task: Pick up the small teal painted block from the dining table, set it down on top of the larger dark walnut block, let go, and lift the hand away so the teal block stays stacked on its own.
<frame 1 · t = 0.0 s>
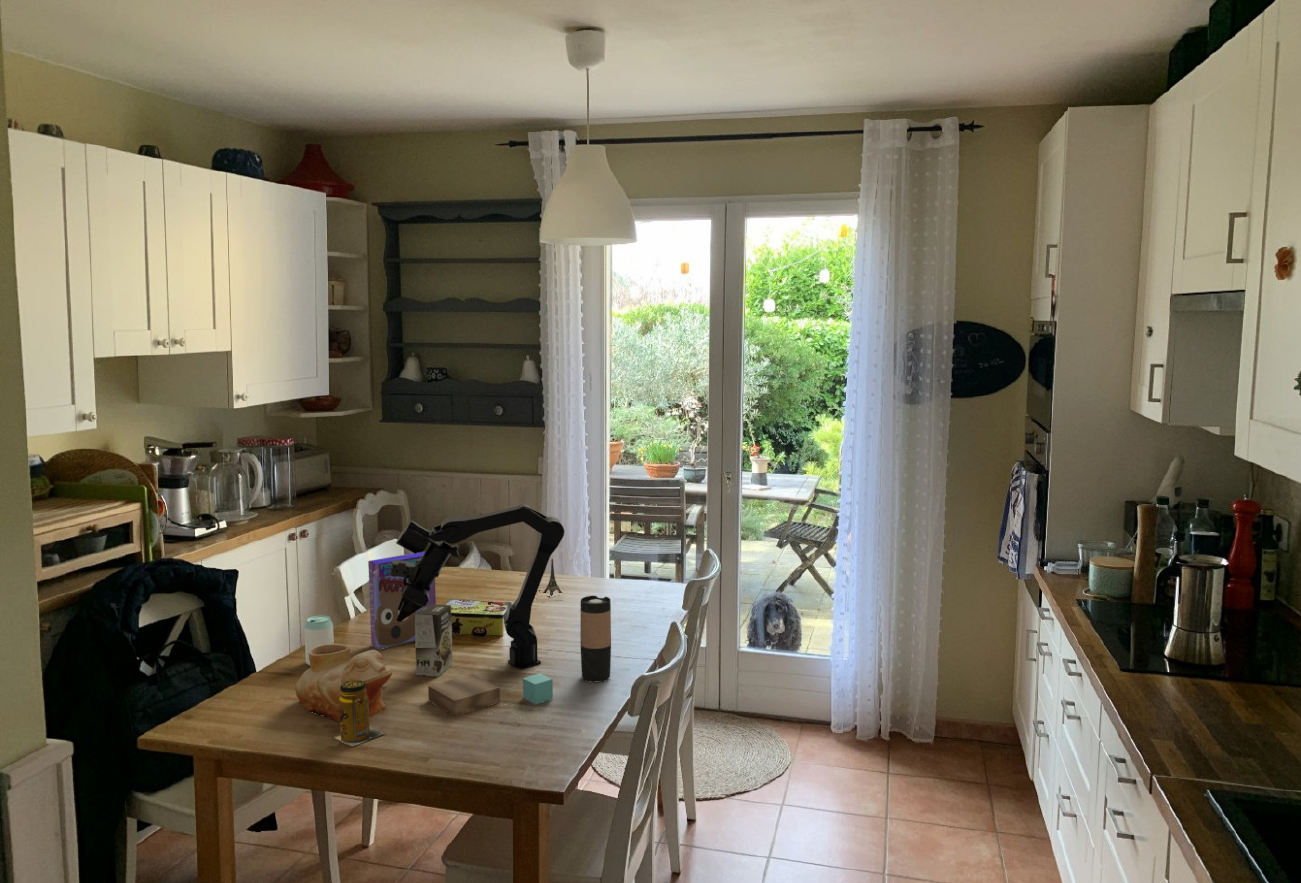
hand: (398, 615, 247), 15 cm above the table, tool tilted 35°, fingers open, 9 cm apart
teal block: (537, 699, 232), on the table
coffee box: (434, 670, 251), on the table
travel mug: (596, 677, 246), on the table
cereal box: (404, 641, 274), on the table
can: (320, 664, 256), on the table
walnut block: (464, 703, 231), on the table
ceramic vessel: (345, 710, 226), on the table
condiment: (359, 737, 212), on the table
eiffel tower figurine: (551, 596, 320), on the table
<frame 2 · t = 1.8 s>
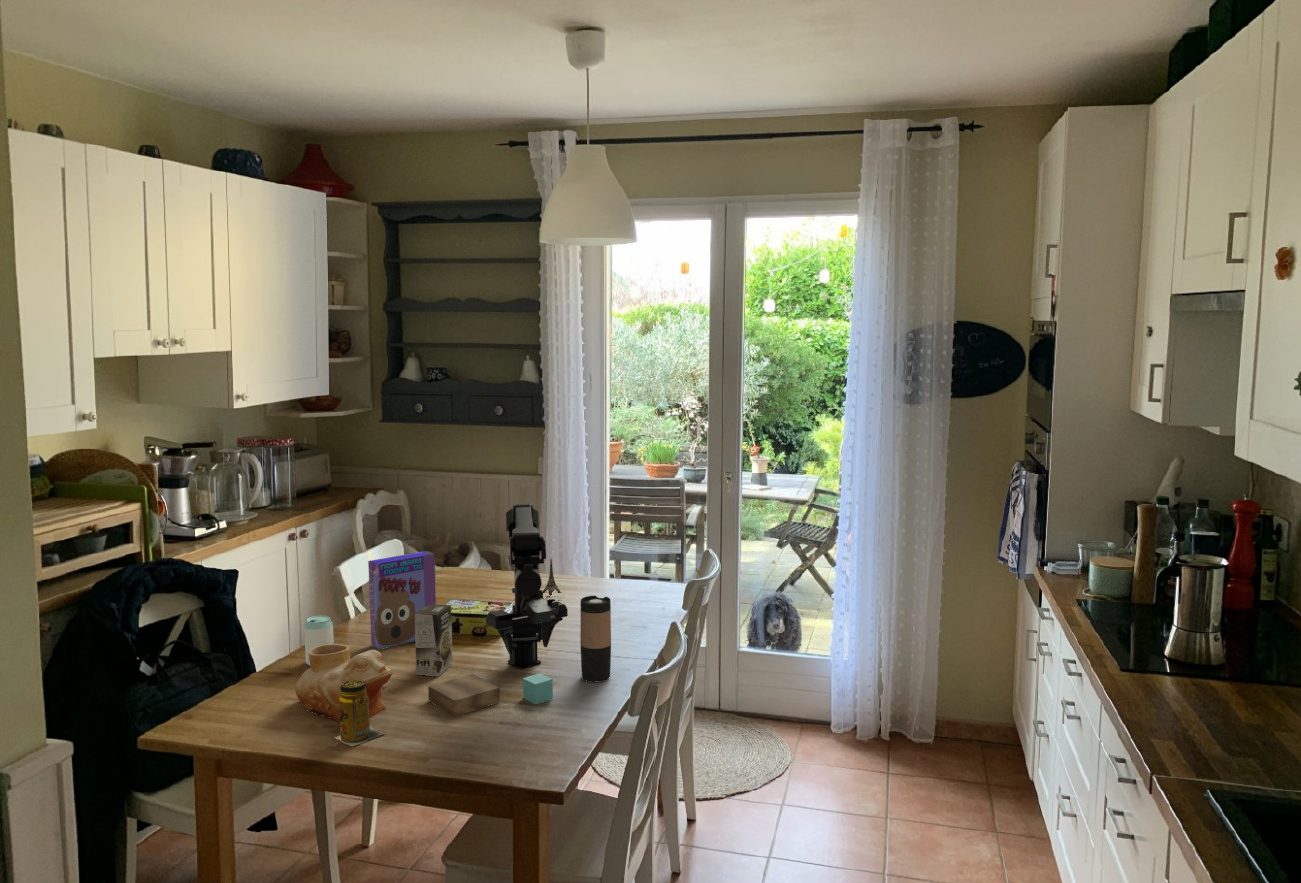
hand: (528, 650, 230), 12 cm above the table, tool pointing down, fingers open, 9 cm apart
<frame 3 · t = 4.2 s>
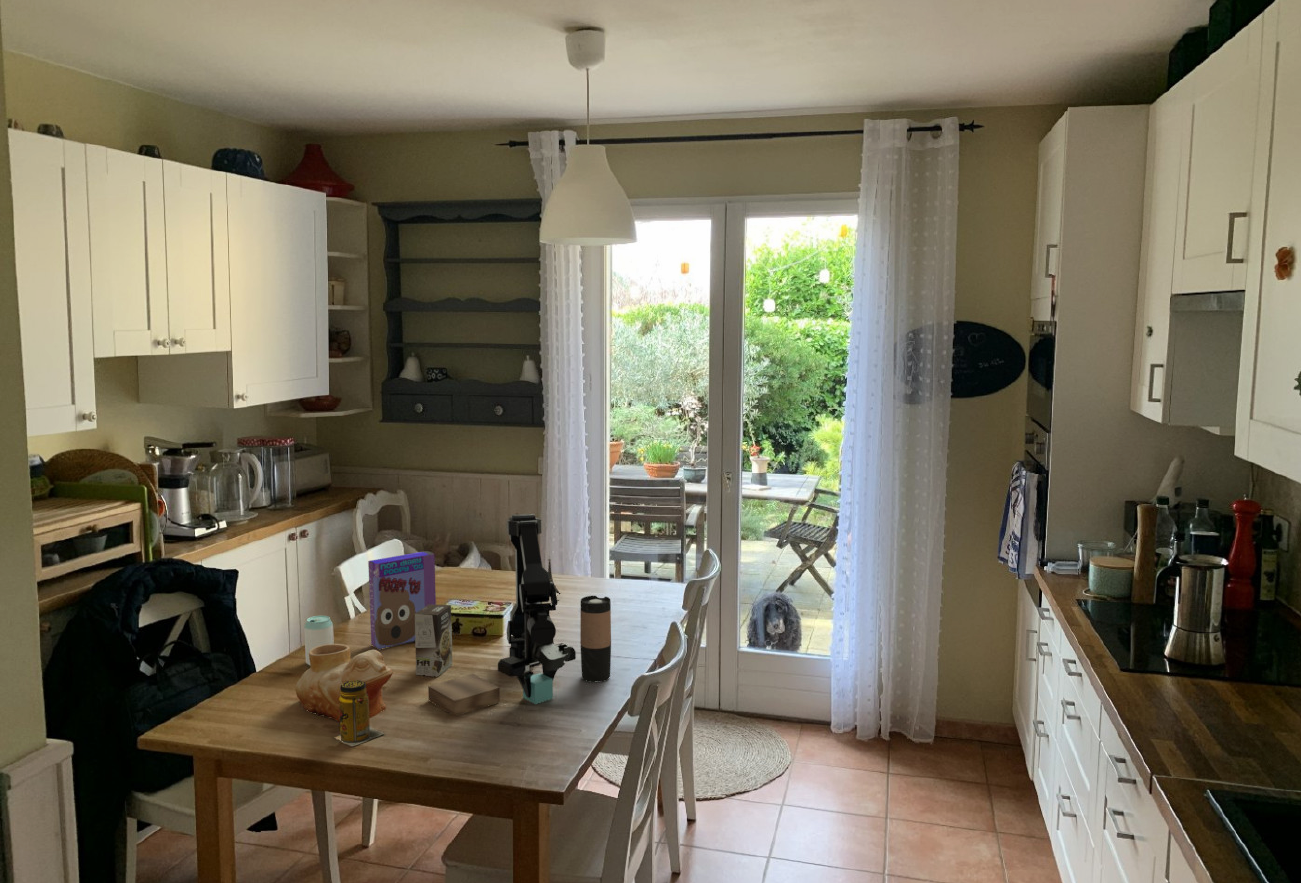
hand: (537, 694, 232), 1 cm above the table, tool pointing down, fingers closed on teal block, 5 cm apart
teal block: (538, 698, 232), on the table, touching gripper
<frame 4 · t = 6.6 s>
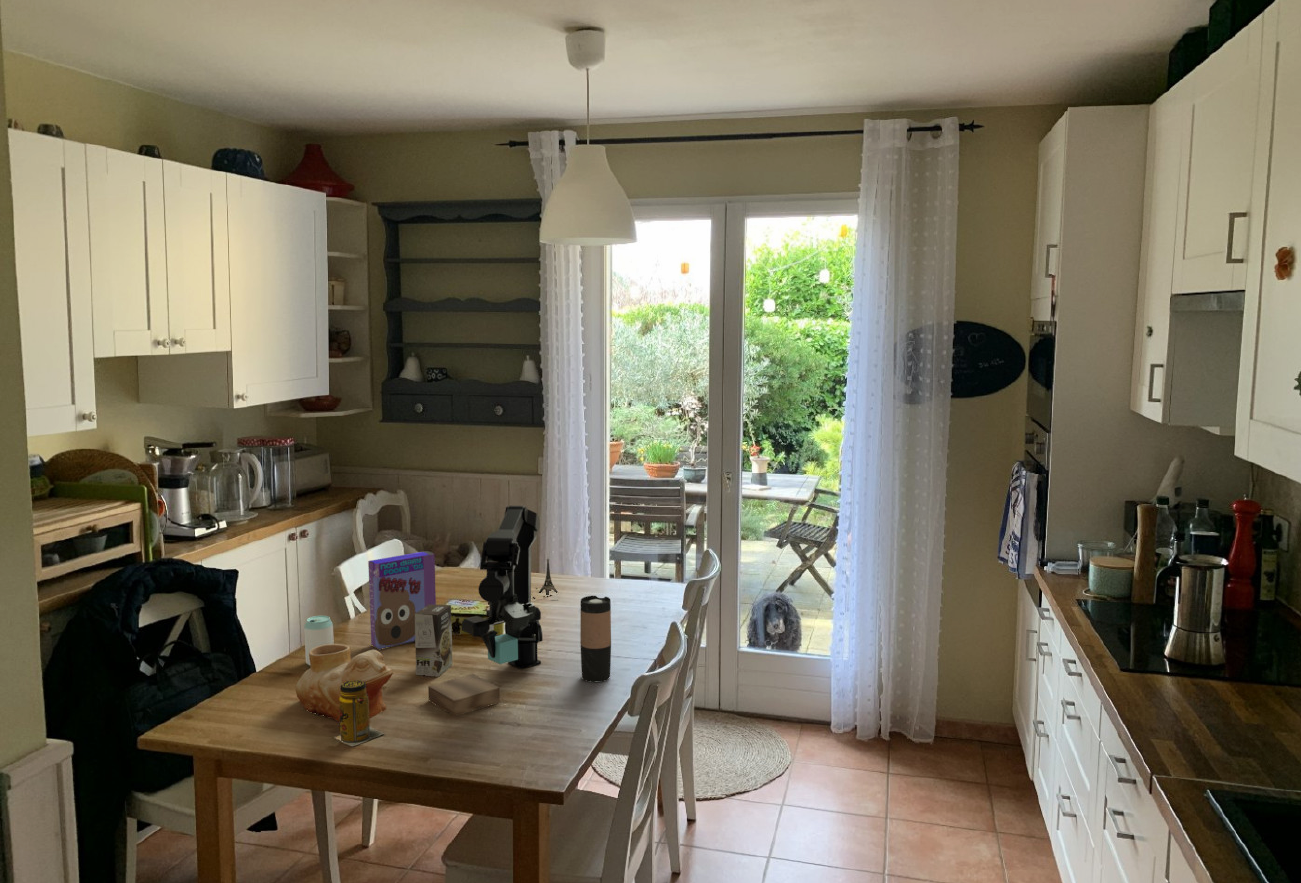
hand: (502, 654, 230), 11 cm above the table, tool pointing down, fingers closed on teal block, 5 cm apart
teal block: (503, 659, 230), point 10 cm above the table, touching gripper
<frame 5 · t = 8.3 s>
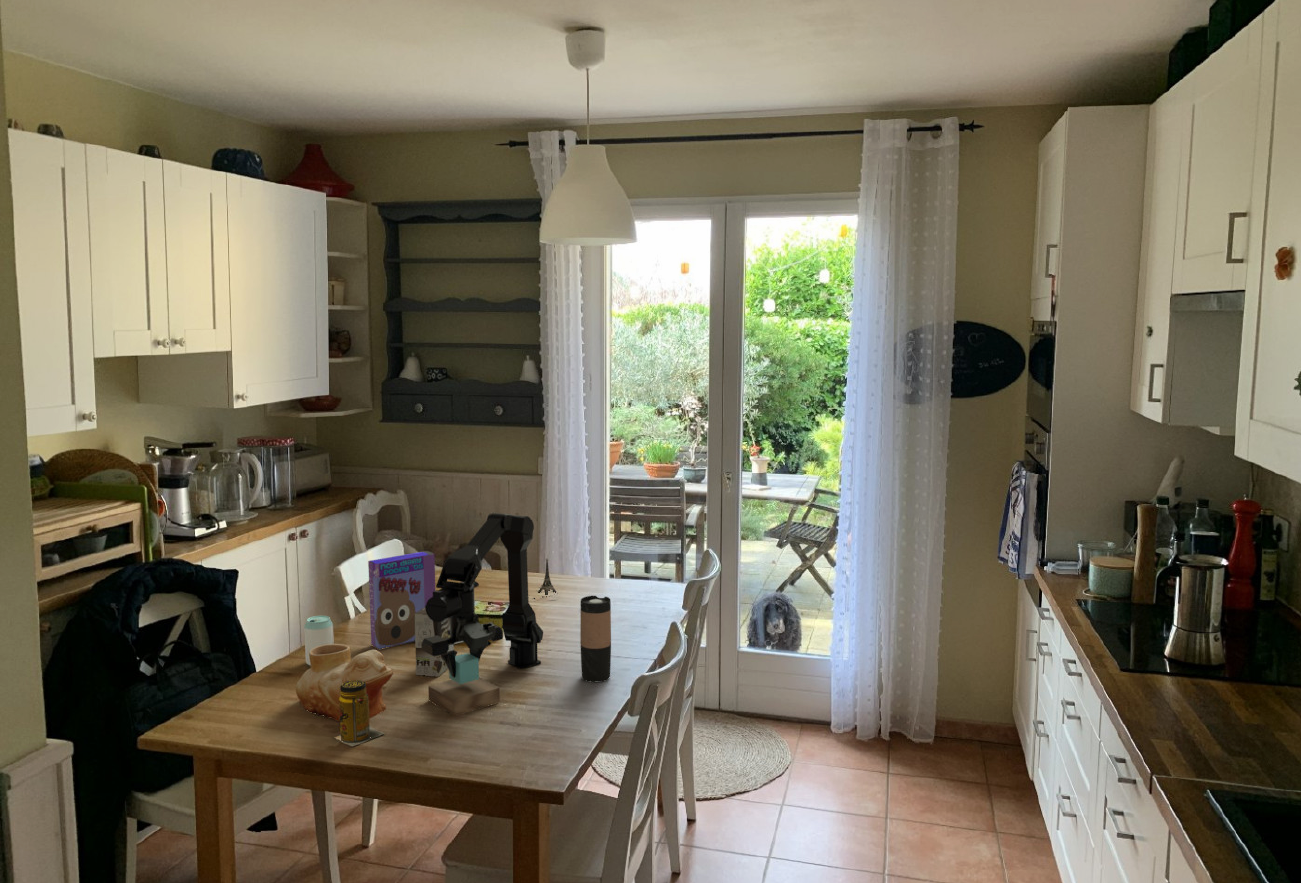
hand: (463, 674, 230), 7 cm above the table, tool pointing down, fingers closed on teal block, 5 cm apart
teal block: (464, 678, 230), point 6 cm above the table, touching gripper
when the fingers open (6 cm above the table, at t = 9.2 s): teal block drops 1 cm, resting on walnut block.
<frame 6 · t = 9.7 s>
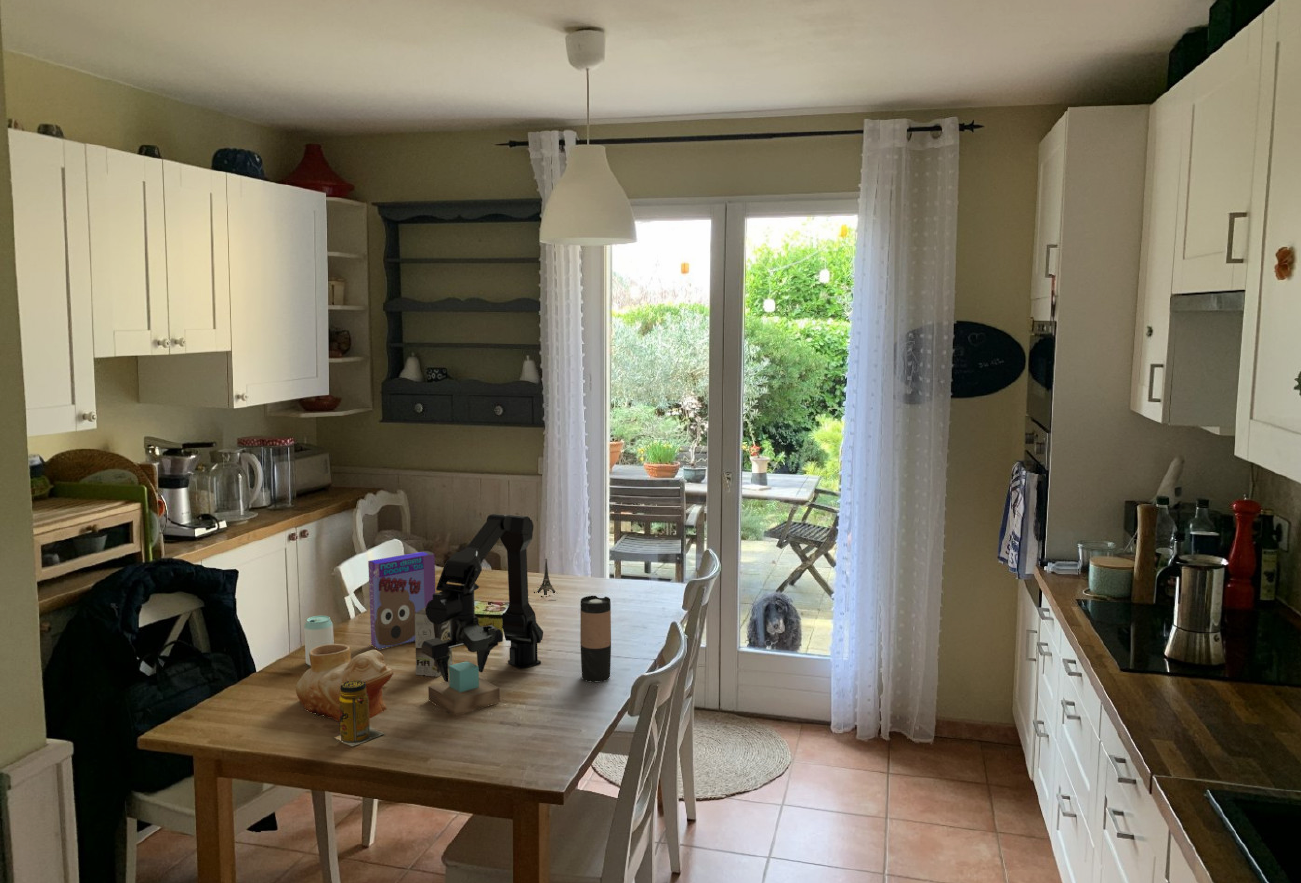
hand: (463, 676, 230), 6 cm above the table, tool pointing down, fingers open, 9 cm apart
teal block: (464, 686, 230), point 3 cm above the table, touching walnut block
walnut block: (464, 703, 231), on the table, touching teal block
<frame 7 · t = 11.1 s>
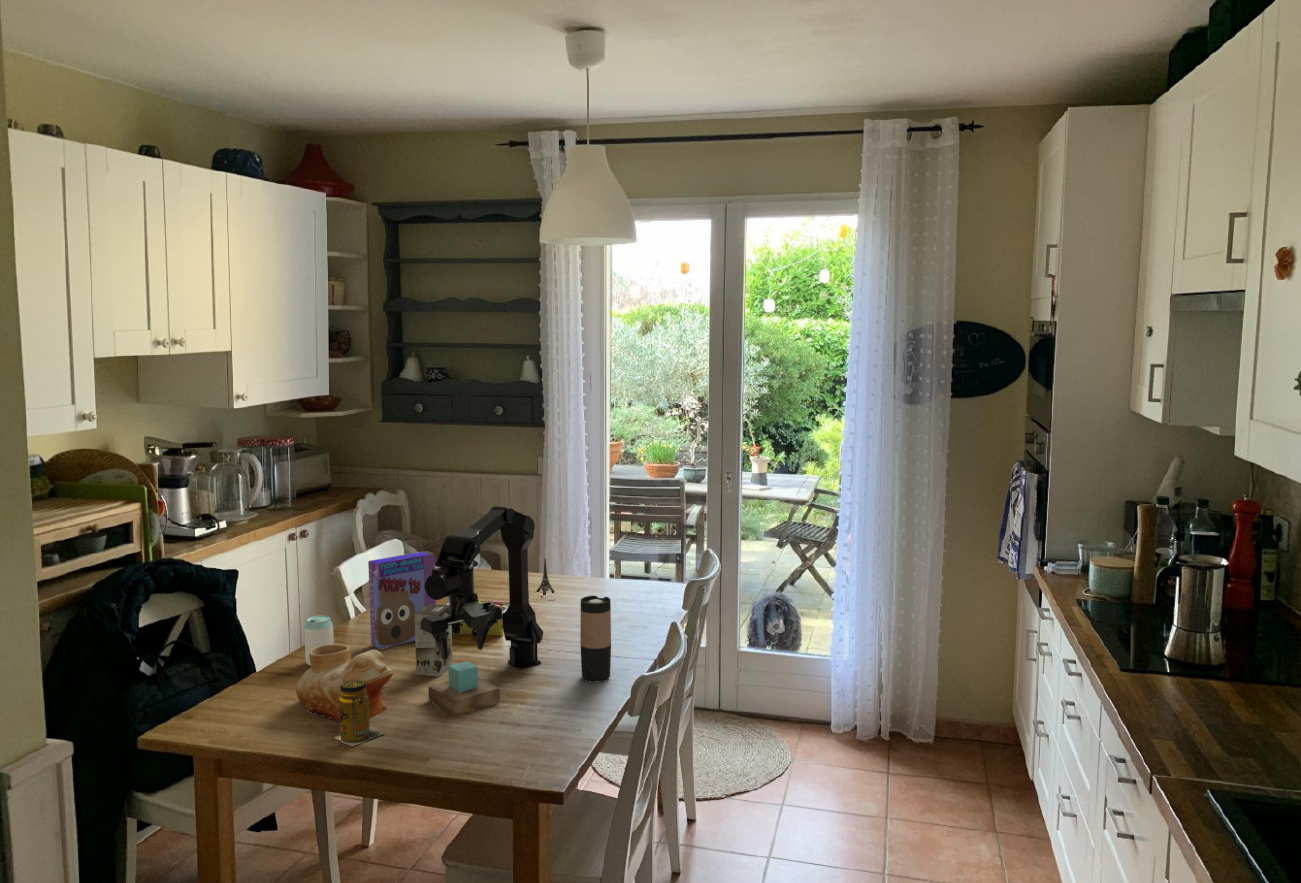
hand: (462, 653, 229), 12 cm above the table, tool pointing down, fingers open, 9 cm apart
teal block: (463, 686, 230), point 4 cm above the table
walnut block: (464, 703, 231), on the table
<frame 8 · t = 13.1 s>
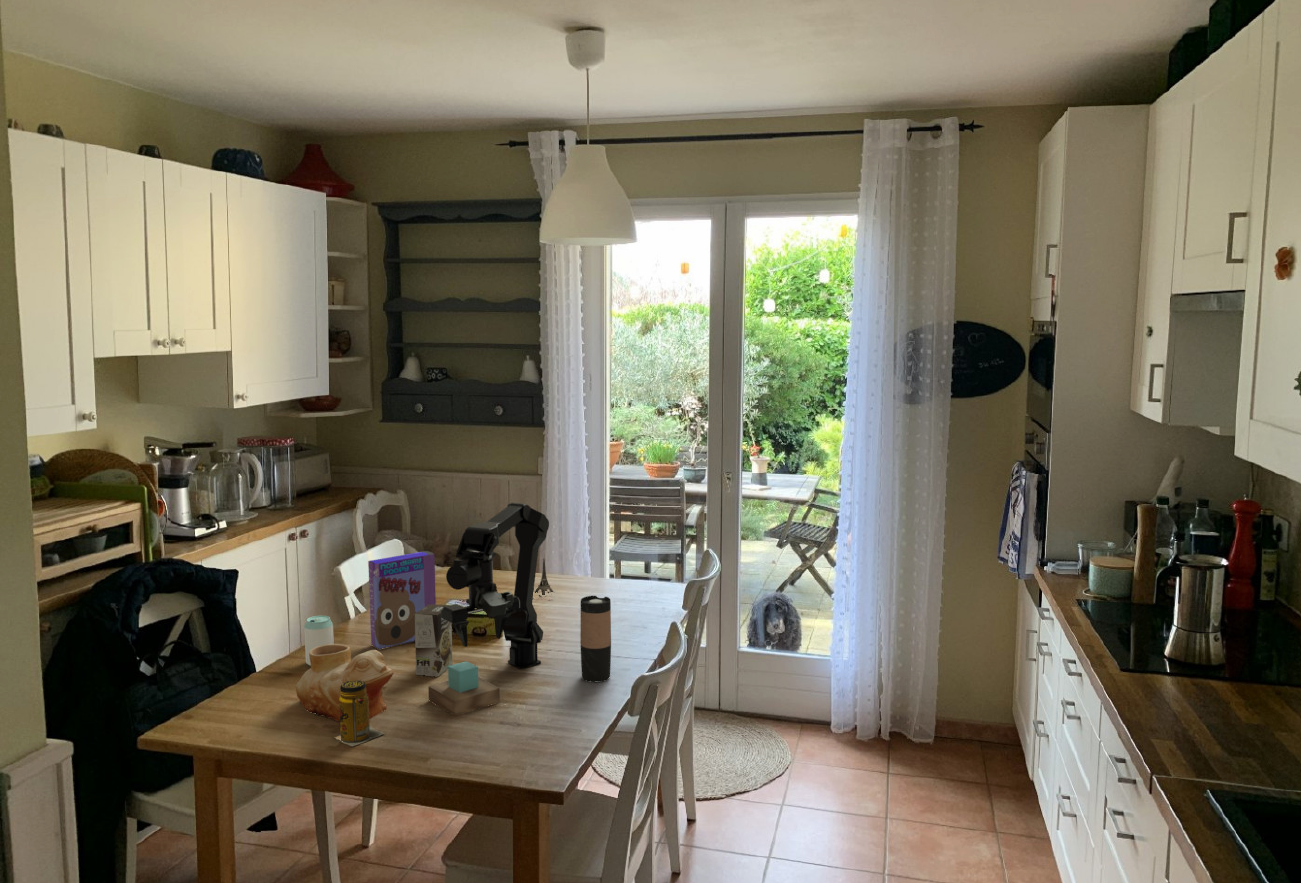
hand: (482, 642, 236), 12 cm above the table, tool pointing down, fingers open, 9 cm apart
teal block: (463, 687, 230), point 4 cm above the table, touching walnut block
walnut block: (464, 703, 231), on the table, touching teal block
at the end: teal block inside the target area on the walnut block (0.1 cm from its centre), point 4.0 cm above the walnut block's base; teal block tilted 0°; the gripper is holding nothing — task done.
